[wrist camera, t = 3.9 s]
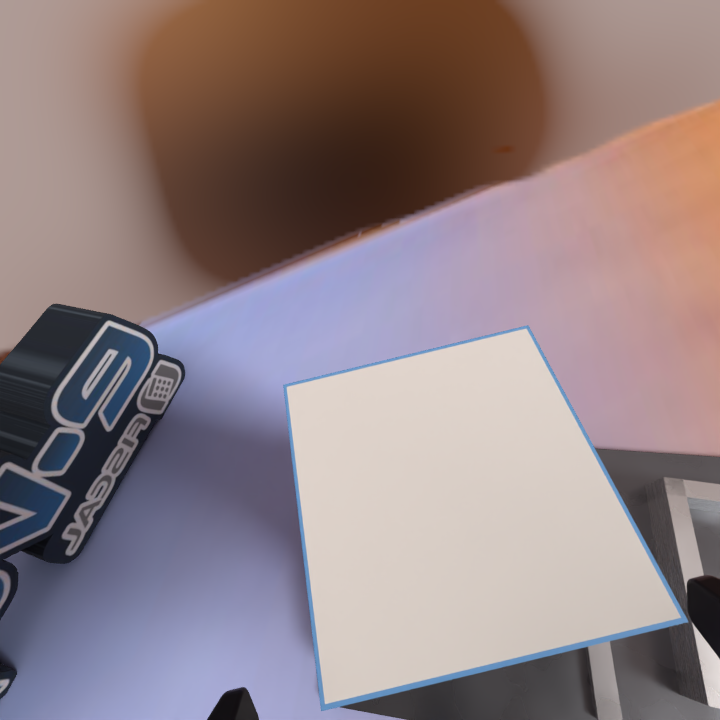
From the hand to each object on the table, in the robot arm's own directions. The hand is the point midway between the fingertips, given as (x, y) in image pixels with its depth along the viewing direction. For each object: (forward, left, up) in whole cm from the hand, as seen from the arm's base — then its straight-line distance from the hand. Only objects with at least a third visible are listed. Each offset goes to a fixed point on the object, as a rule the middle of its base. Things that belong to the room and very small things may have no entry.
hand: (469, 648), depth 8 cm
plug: (+1, +2, -10) cm, 10 cm away
